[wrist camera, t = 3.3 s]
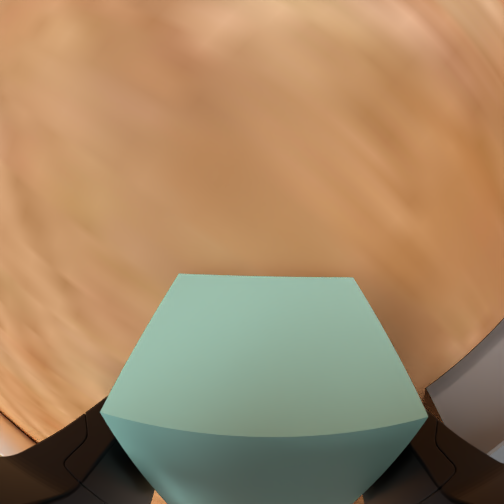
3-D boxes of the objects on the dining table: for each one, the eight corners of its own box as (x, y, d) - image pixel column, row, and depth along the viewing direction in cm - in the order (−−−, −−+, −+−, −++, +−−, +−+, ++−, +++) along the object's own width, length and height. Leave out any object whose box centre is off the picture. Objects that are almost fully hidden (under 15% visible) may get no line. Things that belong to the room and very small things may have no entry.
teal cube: (353, 277, 8) (428, 416, 3) (326, 393, 10) (346, 508, 5) (178, 273, 8) (99, 411, 3) (196, 390, 10) (168, 504, 5)
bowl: (-6, 440, 25) (-20, 464, 17) (-78, 324, 14) (-106, 352, 7) (122, 512, 26) (113, 546, 19) (66, 441, 15) (35, 507, 8)
